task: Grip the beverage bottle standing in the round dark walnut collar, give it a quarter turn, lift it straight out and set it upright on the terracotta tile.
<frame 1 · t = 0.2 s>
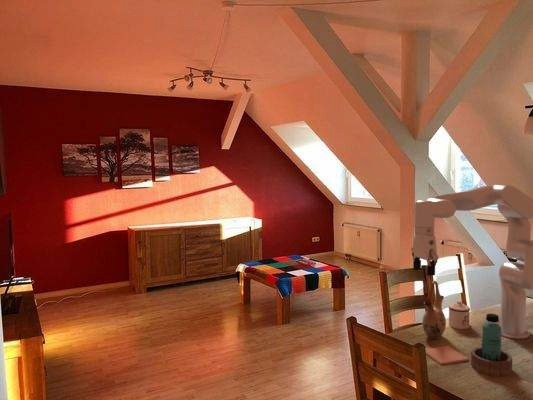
hand: (423, 272, 176), 31 cm above the table, tool pointing down, fingers open, 9 cm apart
teacup with lid: (460, 325, 200), on the table
beverage bottle: (490, 368, 158), resting in walnut collar
terracotta tile: (444, 355, 169), on the table
ceramic vessel: (433, 337, 187), on the table
walnut collar: (490, 367, 158), on the table
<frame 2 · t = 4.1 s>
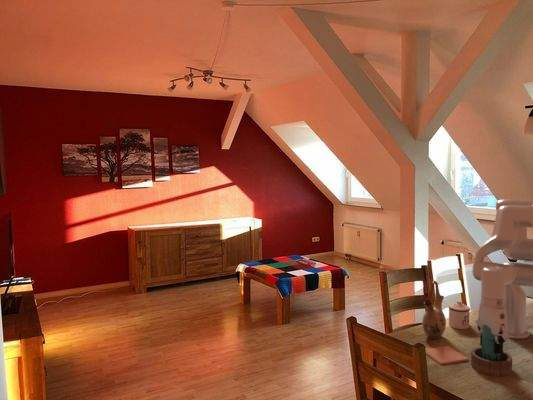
hand: (491, 348, 158), 7 cm above the table, tool pointing down, fingers closed on beverage bottle, 6 cm apart
beverage bottle: (490, 368, 158), resting in walnut collar, touching gripper
everything else where it was.
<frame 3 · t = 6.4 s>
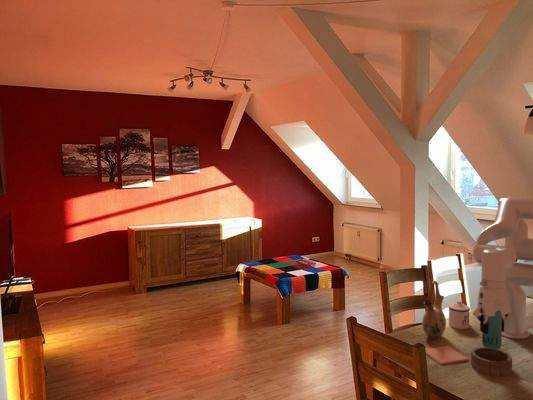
hand: (492, 331, 158), 14 cm above the table, tool pointing down, fingers closed on beverage bottle, 6 cm apart
beverage bottle: (491, 350, 158), point 6 cm above the table, touching gripper
everything else where it was.
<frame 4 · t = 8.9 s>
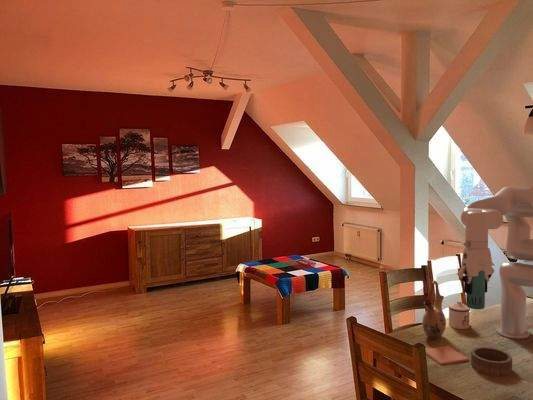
hand: (475, 291, 160), 27 cm above the table, tool pointing down, fingers closed on beverage bottle, 6 cm apart
beverage bottle: (475, 311, 160), point 20 cm above the table, touching gripper
everything else where it was.
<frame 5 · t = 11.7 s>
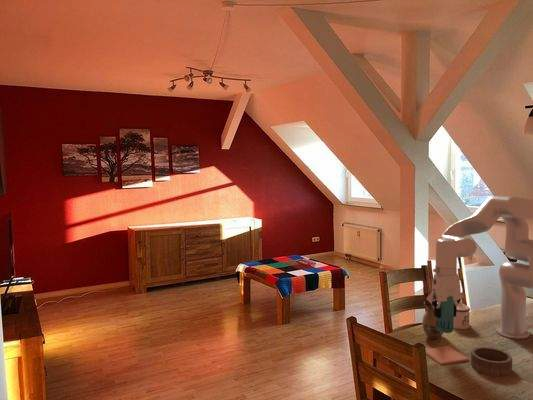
hand: (445, 315, 167), 16 cm above the table, tool pointing down, fingers closed on beverage bottle, 6 cm apart
beverage bottle: (444, 334, 168), point 9 cm above the table, touching gripper
everything else where it was.
when the fingers open (9 cm above the table, at t = 14.0 s): beverage bottle stays where it is, resting on terracotta tile.
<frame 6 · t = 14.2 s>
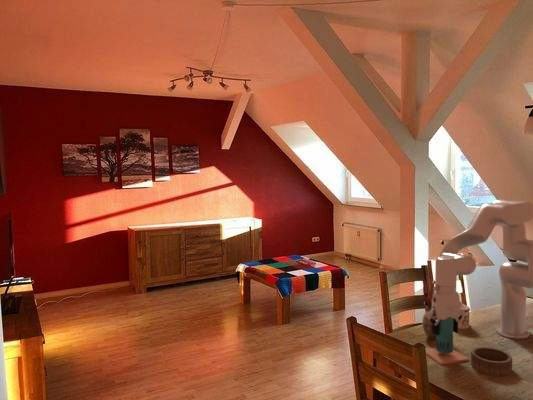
hand: (445, 332, 168), 9 cm above the table, tool pointing down, fingers open, 7 cm apart
beverage bottle: (444, 354, 169), point 1 cm above the table, touching terracotta tile
everything else where it was.
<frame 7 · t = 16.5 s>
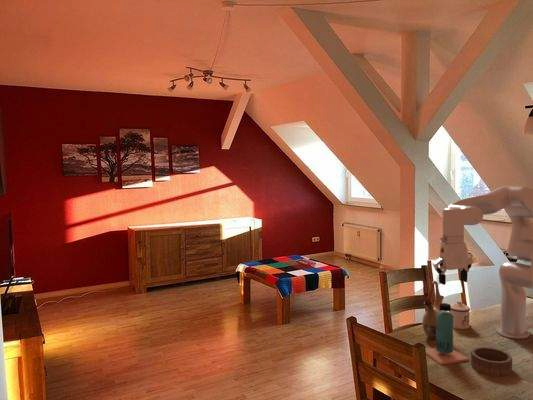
hand: (453, 282, 169), 29 cm above the table, tool pointing down, fingers open, 9 cm apart
nothing on the table moved.
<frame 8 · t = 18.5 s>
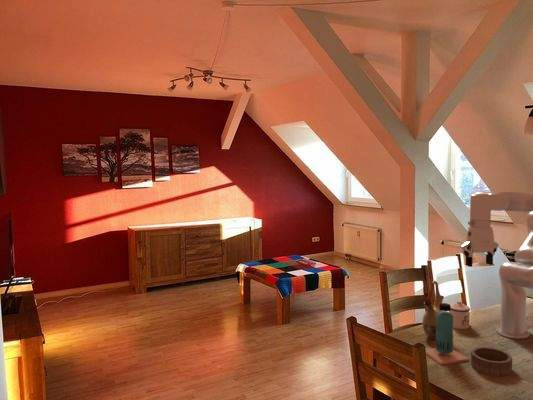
hand: (479, 265, 176), 33 cm above the table, tool pointing down, fingers open, 9 cm apart
nothing on the table moved.
at the end: beverage bottle inside the target area on the terracotta tile (0.2 cm from its centre), point 0.6 cm above the terracotta tile's base; beverage bottle tilted 0°; the gripper is holding nothing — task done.
